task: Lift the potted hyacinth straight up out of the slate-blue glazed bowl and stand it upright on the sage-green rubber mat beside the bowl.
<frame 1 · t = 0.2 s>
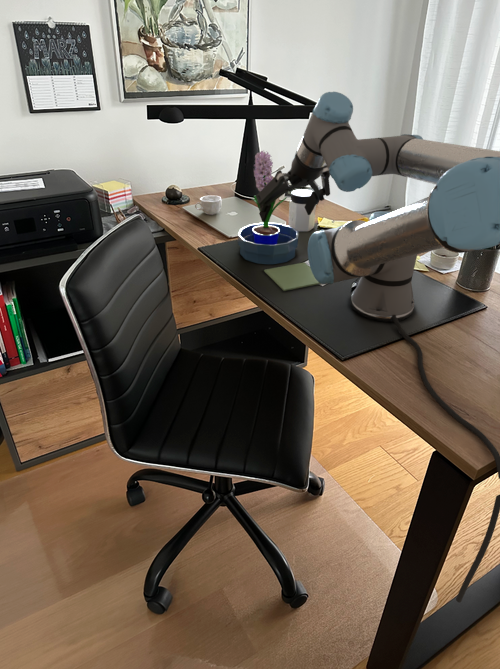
hand: (285, 214, 128), 16 cm above the table, tool tilted 35°, fingers open, 13 cm apart
teacup: (208, 213, 176), on the table
bowl: (268, 252, 146), on the table
hyacinth: (267, 253, 146), resting in bowl
mat: (294, 276, 132), on the table
jar: (301, 227, 164), on the table
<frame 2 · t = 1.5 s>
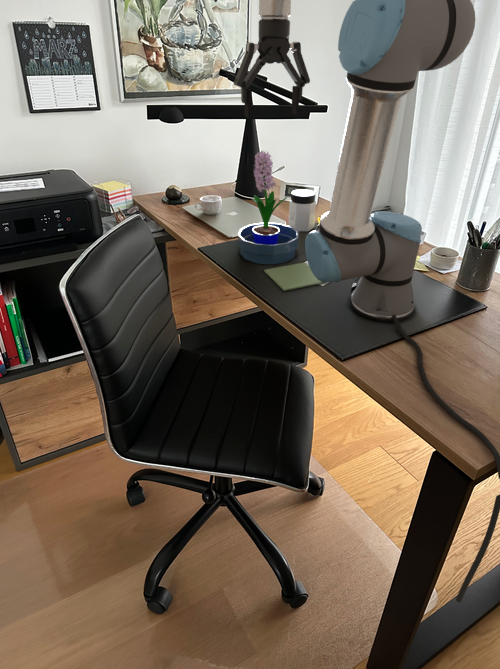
hand: (271, 115, 125), 39 cm above the table, tool pointing down, fingers open, 13 cm apart
nothing on the table moved.
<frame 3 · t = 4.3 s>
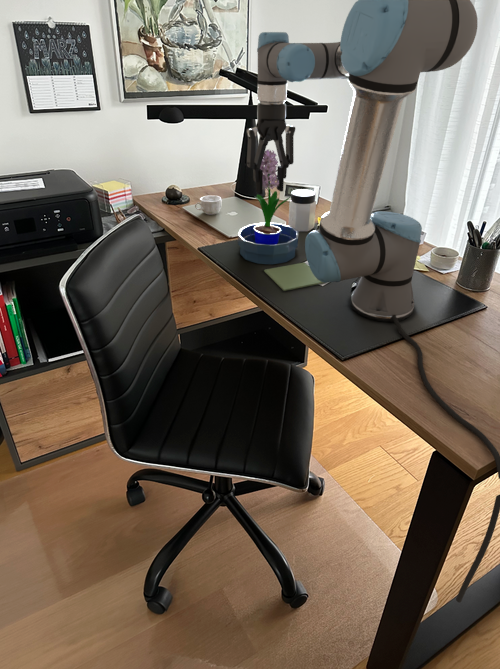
hand: (269, 191, 136), 19 cm above the table, tool pointing down, fingers closed on hyacinth, 6 cm apart
hyacinth: (268, 252, 146), resting in bowl, touching gripper
everything else where it was.
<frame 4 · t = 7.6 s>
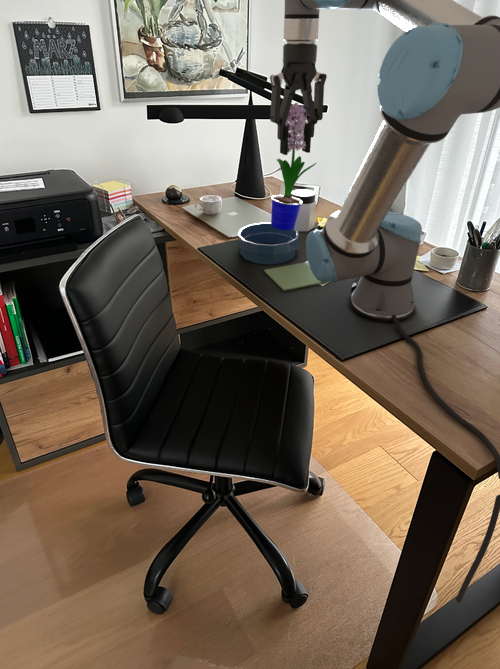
hand: (295, 152, 117), 32 cm above the table, tool pointing down, fingers closed on hyacinth, 5 cm apart
hyacinth: (285, 227, 127), point 13 cm above the table, touching gripper
everything else where it was.
when the fingers open (20 cm above the table, at t = 11.1 s): hyacinth stays where it is, resting on mat.
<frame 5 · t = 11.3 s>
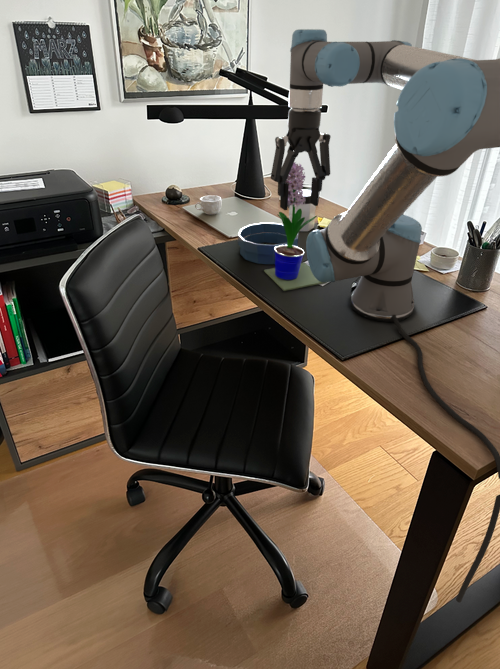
hand: (299, 206, 121), 20 cm above the table, tool pointing down, fingers open, 8 cm apart
hyacinth: (288, 276, 131), point 1 cm above the table, touching gripper, mat
everything else where it was.
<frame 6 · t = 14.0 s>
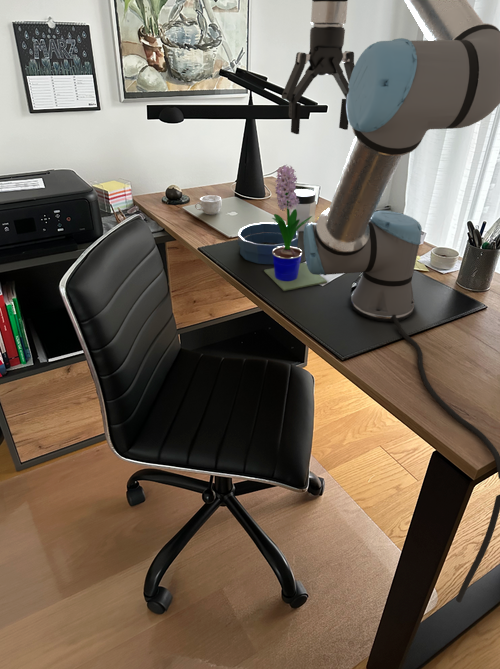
hand: (319, 131, 114), 37 cm above the table, tool pointing down, fingers open, 13 cm apart
hyacinth: (288, 277, 132), resting on mat
everything else where it was.
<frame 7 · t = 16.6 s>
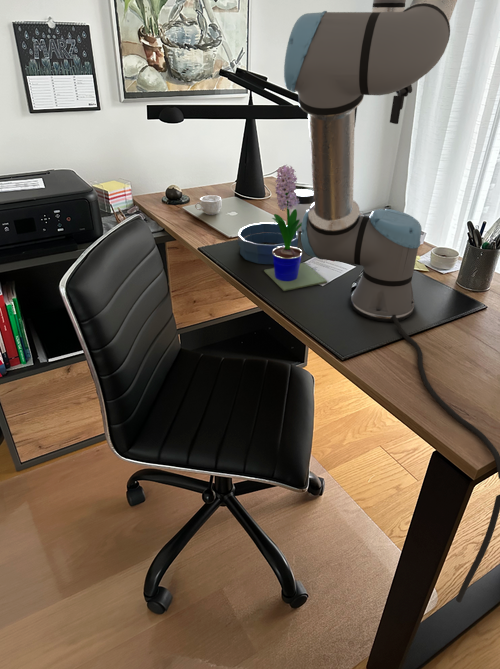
hand: (372, 125, 125), 37 cm above the table, tool pointing down, fingers open, 13 cm apart
nothing on the table moved.
at the end: hyacinth inside the target area on the mat (1.9 cm from its centre), point 0.3 cm above the mat's base; hyacinth tilted 0°; the gripper is holding nothing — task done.
